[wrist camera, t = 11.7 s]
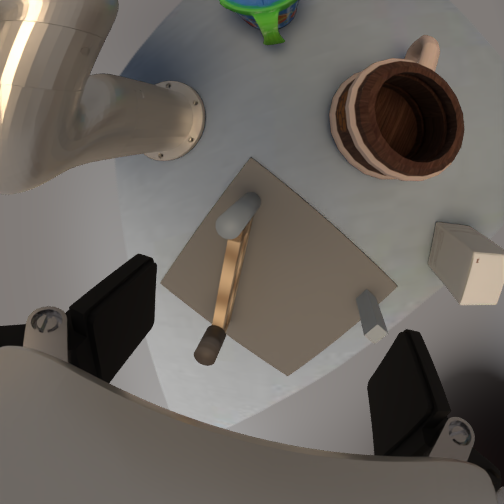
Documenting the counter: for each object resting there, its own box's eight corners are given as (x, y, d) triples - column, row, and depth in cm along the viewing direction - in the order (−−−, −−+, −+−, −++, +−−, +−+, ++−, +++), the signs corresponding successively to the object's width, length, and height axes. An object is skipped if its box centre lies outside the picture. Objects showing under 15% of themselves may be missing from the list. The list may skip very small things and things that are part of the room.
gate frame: (238, 202, 42) (210, 228, 30) (250, 187, 41) (225, 207, 29) (364, 306, 44) (377, 359, 32) (376, 295, 43) (393, 346, 31)
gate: (238, 212, 41) (210, 241, 30) (258, 217, 41) (237, 249, 30) (217, 319, 49) (192, 368, 38) (233, 324, 49) (212, 374, 37)
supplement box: (426, 265, 40) (457, 306, 28) (435, 220, 37) (474, 250, 25) (461, 267, 38) (496, 306, 27) (471, 225, 36) (513, 255, 24)
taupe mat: (161, 282, 50) (160, 283, 50) (251, 157, 39) (250, 157, 39) (287, 374, 53) (287, 376, 52) (396, 285, 42) (397, 286, 41)
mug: (404, 194, 37) (449, 223, 23) (311, 148, 37) (313, 151, 23) (448, 81, 29) (502, 63, 15) (358, 32, 29) (379, -16, 15)
